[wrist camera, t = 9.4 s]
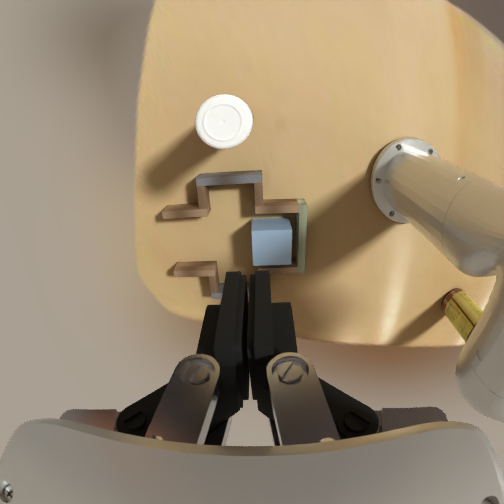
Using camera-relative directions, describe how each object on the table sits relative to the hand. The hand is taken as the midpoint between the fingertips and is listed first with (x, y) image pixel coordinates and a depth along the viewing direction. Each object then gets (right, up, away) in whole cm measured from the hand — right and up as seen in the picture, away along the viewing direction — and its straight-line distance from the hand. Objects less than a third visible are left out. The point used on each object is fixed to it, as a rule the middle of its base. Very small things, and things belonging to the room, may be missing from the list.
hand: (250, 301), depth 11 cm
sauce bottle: (+40, -7, +34) cm, 53 cm away
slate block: (+3, +4, +28) cm, 29 cm away
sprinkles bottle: (-2, +18, +21) cm, 28 cm away
